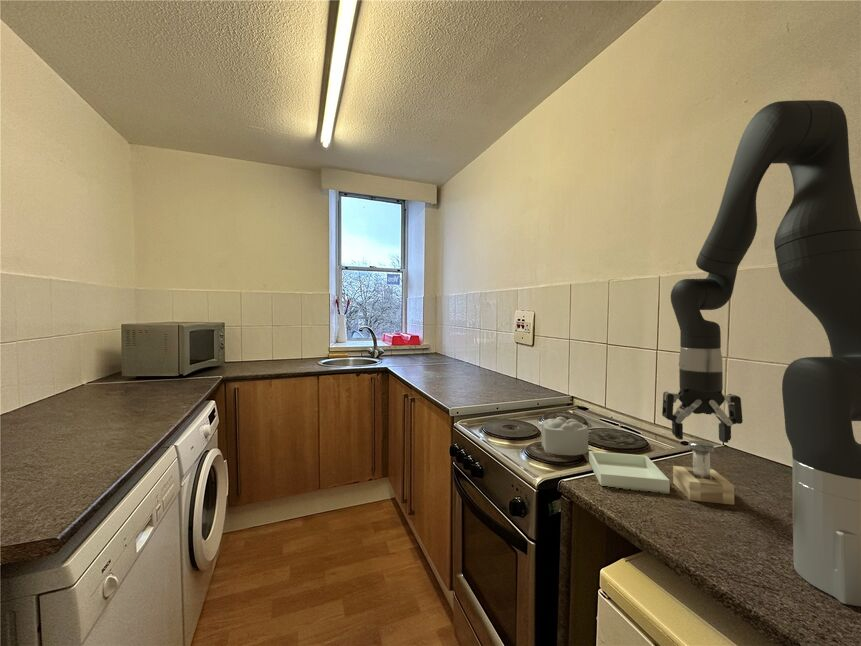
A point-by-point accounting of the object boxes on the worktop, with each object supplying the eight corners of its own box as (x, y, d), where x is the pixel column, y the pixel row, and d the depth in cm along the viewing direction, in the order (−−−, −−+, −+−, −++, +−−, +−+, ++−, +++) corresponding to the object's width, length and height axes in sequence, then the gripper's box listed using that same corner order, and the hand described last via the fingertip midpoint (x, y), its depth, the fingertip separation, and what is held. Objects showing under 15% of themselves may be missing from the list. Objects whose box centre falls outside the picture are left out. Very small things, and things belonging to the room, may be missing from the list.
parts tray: (669, 493, 74) (669, 480, 74) (601, 486, 78) (600, 473, 78) (646, 466, 88) (646, 455, 88) (588, 462, 91) (588, 451, 91)
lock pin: (719, 499, 72) (718, 448, 72) (695, 496, 73) (694, 446, 73) (708, 489, 76) (707, 441, 76) (685, 487, 77) (684, 439, 77)
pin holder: (734, 504, 70) (734, 485, 70) (689, 500, 72) (689, 481, 72) (712, 486, 77) (712, 469, 77) (673, 482, 79) (672, 465, 79)
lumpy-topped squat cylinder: (540, 441, 108) (539, 415, 108) (582, 443, 106) (581, 415, 106) (546, 454, 97) (546, 425, 97) (593, 456, 95) (593, 426, 95)
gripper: (670, 369, 73) (671, 443, 73) (750, 371, 69) (750, 449, 69) (657, 365, 80) (657, 432, 80) (728, 366, 76) (728, 436, 76)
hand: (700, 440), depth 74 cm, fingers open, 8 cm apart
